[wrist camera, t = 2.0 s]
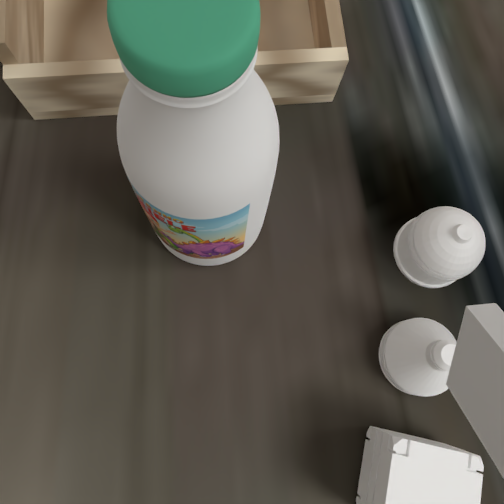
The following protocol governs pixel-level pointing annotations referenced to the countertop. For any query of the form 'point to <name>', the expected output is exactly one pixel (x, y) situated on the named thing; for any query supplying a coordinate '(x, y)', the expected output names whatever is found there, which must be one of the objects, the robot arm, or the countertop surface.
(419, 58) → the countertop surface
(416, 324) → the container set
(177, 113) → the milk bottle
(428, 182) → the countertop surface
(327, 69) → the wooden box
